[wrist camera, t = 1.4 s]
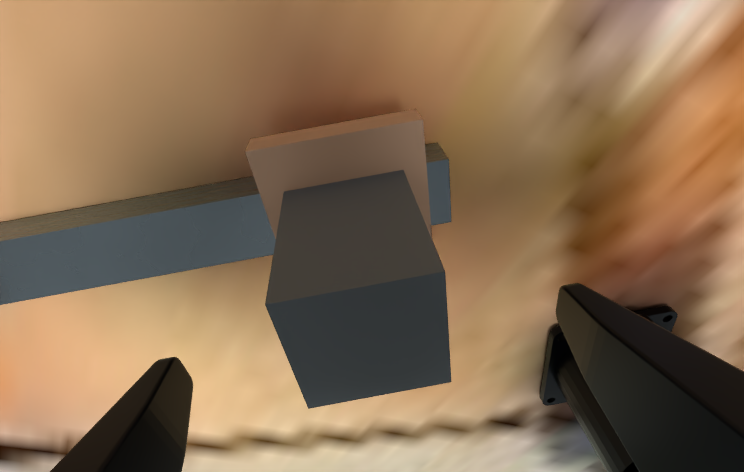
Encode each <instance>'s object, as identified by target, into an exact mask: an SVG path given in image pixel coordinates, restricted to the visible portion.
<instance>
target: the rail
mask: <svg viewBox="0 0 744 472" xmlns="http://www.w3.org/2000/svg"><path fill="white" fill-rule="evenodd" d="M425 151H426V165H427V178H428V191H429V204H430V217H431V225H437V224H442V223H448V222H451V201H450V177H449V159H448V157H447V156H446V154H445V153H444V151H443V150H442V148H441V147H440V145H439V144H438V143H433V144H427V145H425ZM275 242H276V239H275V236H274V233H273V230H272V228H271V225H270V222H269V219H268V216H267V213H266V210H265V208H264V205H263V202H262V199H261V196H260V193H259V190H258V188H257V185H256V182H255V179H254V176H253V177H247V178H242V179H236V180H231V181H225V182H220V183H214V184H209V185H203V186H198V187H192V188H187V189H182V190H176V191H171V192H165V193H160V194H154V195H149V196H143V197H138V198H132V199H127V200H121V201H116V202H110V203H105V204H100V205H94V206H89V207H83V208H78V209H72V210H67V211H61V212H56V213H50V214H45V215H39V216H34V217H28V218H23V219H18V220H12V221H7V222H1V223H0V305H2V304H8V303H13V302H19V301H24V300H29V299H35V298H40V297H46V296H51V295H57V294H62V293H67V292H73V291H78V290H84V289H89V288H95V287H100V286H105V285H111V284H116V283H122V282H127V281H133V280H138V279H144V278H149V277H154V276H160V275H165V274H171V273H176V272H182V271H187V270H192V269H198V268H203V267H209V266H214V265H220V264H225V263H230V262H236V261H241V260H247V259H252V258H258V257H263V256H268V255H273V254H274V248H275Z"/></svg>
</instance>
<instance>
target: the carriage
mask: <svg viewBox="0 0 744 472" xmlns="http://www.w3.org/2000/svg"><path fill="white" fill-rule="evenodd" d="M245 153H246V156H247V159H248V162H249V165H250V168H251V170H252V173H253V176H254V179H255V182H256V185H257V188H258V190H259V193H260V196H261V199H262V202H263V205H264V208H265V210H266V213H267V216H268V219H269V222H270V225H271V228H272V230H273V233H274V236H275V239H276V242H275V248H274V254H273V260H272V266H271V272H270V278H269V285H268V291H267V297H266V303H265V305H266V308H267V310H268V313H269V315H270V317H271V320H272V322H273V325H274V327H275V329H276V332H277V334H278V337H279V339H280V341H281V344H282V346H283V349H284V351H285V353H286V356H287V358H288V361H289V363H290V365H291V368H292V370H293V373H294V375H295V377H296V380H297V382H298V385H299V387H300V389H301V392H302V394H303V397H304V399H305V401H306V404H307V406H308V409H309V408H314V407H320V406H325V405H330V404H336V403H341V402H346V401H352V400H357V399H363V398H368V397H373V396H379V395H384V394H389V393H395V392H400V391H405V390H411V389H416V388H422V387H427V386H432V385H438V384H443V383H448V382H451V368H450V350H449V332H448V314H447V297H446V279H445V270H444V268H443V265H442V263H441V260H440V258H439V255H438V253H437V251H436V248H435V246H434V243H433V241H432V231H431V217H430V204H429V191H428V178H427V165H426V151H425V138H424V125H423V118H422V117H421V115H420V114H419V112H418V111H417V110H416V109H411V110H406V111H400V112H395V113H389V114H384V115H378V116H373V117H367V118H362V119H357V120H351V121H346V122H340V123H335V124H329V125H324V126H318V127H313V128H307V129H302V130H296V131H291V132H285V133H280V134H274V135H269V136H263V137H258V138H252V139H250V141H249V143H248V145H247V148H246V150H245Z"/></svg>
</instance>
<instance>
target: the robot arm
mask: <svg viewBox="0 0 744 472" xmlns="http://www.w3.org/2000/svg"><path fill="white" fill-rule="evenodd" d="M556 317H557V320H558V322H559V325H560V326H558V327H555V328H554V329H552V330H551V331H550V334H549V340H548V346H547V353H546V359H545V366H544V372H543V378H542V385H541V391H540V398H541V400H542V402H543V404H544V405H554V404H559V403H564V402H567V403H568V404H569V406H570V408H571V410H572V411H573V413H574V415H575V417H576V418H577V420H578V422H579V424H580V426H581V427H582V429H583V431H584V433H585V434H586V436H587V438H588V440H589V441H590V443H591V445H592V447H593V448H594V450H595V452H596V454H597V455H598V457H599V459H600V461H601V463H602V464H603V466H604V468H605V470H606V471H607V472H744V371H742V370H740V369H738V368H736V367H735V366H733V365H731V364H729V363H727V362H725V361H723V360H722V359H720V358H718V357H716V356H714V355H712V354H710V353H709V352H707V351H705V350H703V349H701V348H699V347H697V346H696V345H694V344H692V343H690V342H688V341H686V340H684V339H683V338H681V337H679V336H677V335H675V334H673V333H671V331H672V328H673V326H674V323H675V321H676V318H677V313H676V312H675V311H674V310H673V309H672V308H671V307H669V306H664V307H658V308H653V309H648V310H642V311H637V312H632V311H631V310H629V309H627V308H625V307H623V306H621V305H619V304H618V303H616V302H614V301H612V300H610V299H608V298H606V297H605V296H603V295H601V294H599V293H597V292H595V291H593V290H592V289H590V288H588V287H586V286H584V285H582V284H579V283H574V284H568V285H563V286H561V287H560V289H559V293H558V300H557V306H556ZM192 392H193V382H192V378H191V376H190V375H189V373H188V372H187V370H186V369H185V367H184V366H183V364H182V363H181V361H180V360H179V359H178V358H177V357H170V358H165V359H160V360H158V361H156V362H155V363H154V364H153V365H152V366H151V367H150V368H149V369H148V370H147V371H146V372H145V373H144V374H143V375H142V377H141V378H140V379H139V380H138V381H137V382H136V383H135V384H134V385H133V386H132V387H131V388H130V389H129V390H128V391H127V392H126V393H125V394H124V395H123V396H122V397H121V398H120V399H119V400H118V401H117V403H116V404H115V405H114V406H113V407H112V408H111V409H110V410H109V411H108V412H107V413H106V414H105V415H104V416H103V417H102V418H101V419H100V420H99V421H98V422H97V423H96V424H95V425H94V426H93V427H92V429H91V430H90V431H89V432H88V433H87V434H86V435H85V436H84V437H83V438H82V439H81V440H80V441H79V442H78V443H77V444H76V445H75V446H74V447H73V448H72V449H71V450H70V451H69V452H68V453H67V455H66V456H65V457H64V458H63V459H62V460H61V461H60V462H59V463H58V464H57V465H56V466H55V467H54V468H53V469H52V470H51V471H50V472H181V471H182V467H183V462H184V457H185V451H186V444H187V436H188V427H189V418H190V410H191V401H192Z"/></svg>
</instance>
